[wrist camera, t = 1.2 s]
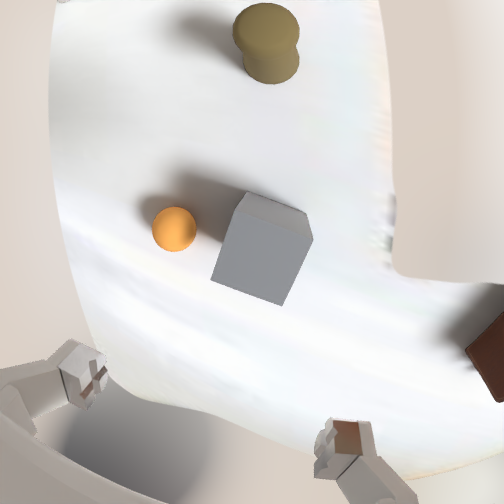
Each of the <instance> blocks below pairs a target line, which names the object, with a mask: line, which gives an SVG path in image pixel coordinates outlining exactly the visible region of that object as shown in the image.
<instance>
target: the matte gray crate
mask: <svg viewBox="0 0 504 504" xmlns="http://www.w3.org/2000/svg"><path fill="white" fill-rule="evenodd" d="M312 242H313V236H312V232H311V229H310V225H309V221H308V218H307V214H306V213H303V212H301V211H298V210H296V209H293V208H291V207H288V206H286V205H283V204H280V203H278V202H275V201H273V200H270V199H267V198H265V197H262V196H260V195H257V194H254V193H252V192H249V191H247V192H246V194H245V195H244V197H243V198H242V200H241V201H240V202H239V204H238V205H237V207H236V208H235V210H234V213H233V216H232V219H231V222H230V224H229V227H228V230H227V233H226V236H225V239H224V242H223V245H222V247H221V250H220V253H219V256H218V259H217V262H216V265H215V268H214V271H213V274H212V277H211V280H212V281H214V282H217V283H220V284H222V285H225V286H227V287H230V288H233V289H236V290H238V291H241V292H244V293H246V294H249V295H252V296H255V297H257V298H260V299H263V300H266V301H269V302H271V303H274V304H277V305H280V306H282V305H283V303H284V301H285V299H286V297H287V295H288V293H289V291H290V289H291V287H292V285H293V283H294V281H295V278H296V276H297V274H298V272H299V270H300V268H301V266H302V264H303V261H304V259H305V257H306V255H307V253H308V251H309V249H310V246H311V244H312Z"/></svg>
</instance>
